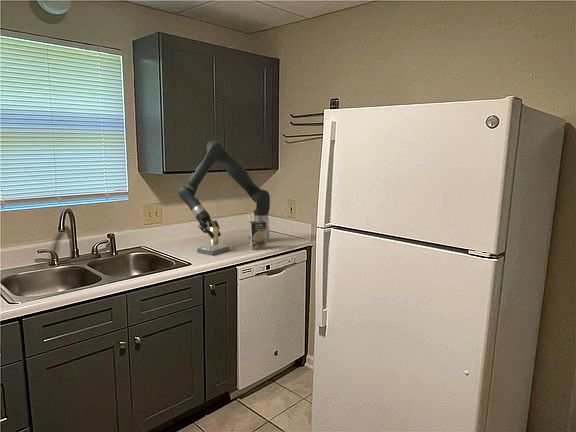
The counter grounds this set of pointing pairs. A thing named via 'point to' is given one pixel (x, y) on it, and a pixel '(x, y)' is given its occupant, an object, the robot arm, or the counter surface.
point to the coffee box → (257, 235)
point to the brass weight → (215, 231)
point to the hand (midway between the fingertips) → (216, 236)
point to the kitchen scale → (213, 249)
